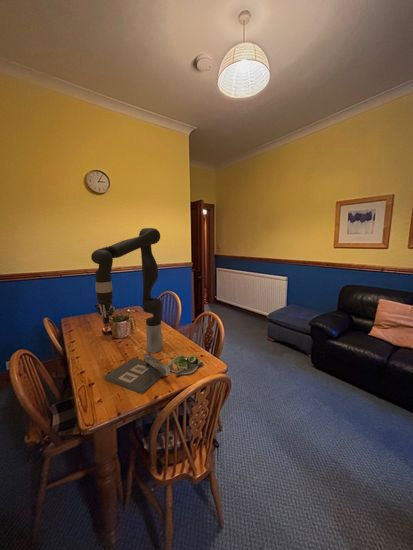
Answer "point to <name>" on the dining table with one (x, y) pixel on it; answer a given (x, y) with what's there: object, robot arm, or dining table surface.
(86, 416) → the dining table surface
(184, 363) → the salad plate
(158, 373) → the grey flat slab
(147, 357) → the cable arm
